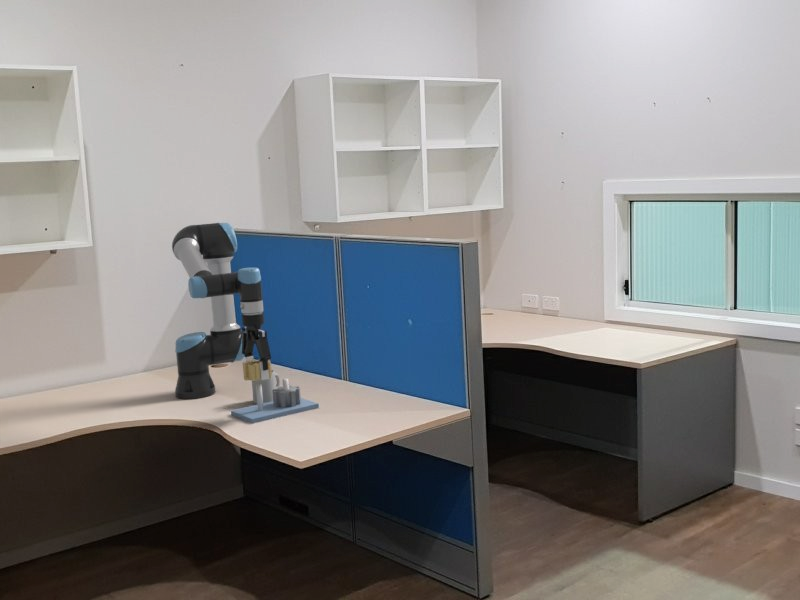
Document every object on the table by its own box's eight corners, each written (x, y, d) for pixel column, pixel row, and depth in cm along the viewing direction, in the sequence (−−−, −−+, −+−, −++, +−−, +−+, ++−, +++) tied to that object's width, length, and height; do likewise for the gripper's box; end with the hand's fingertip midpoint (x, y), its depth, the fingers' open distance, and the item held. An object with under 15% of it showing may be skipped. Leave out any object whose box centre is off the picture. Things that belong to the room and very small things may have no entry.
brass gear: (239, 378, 322) (237, 362, 321) (263, 373, 327) (262, 358, 326) (251, 382, 314) (250, 366, 313) (276, 377, 319) (275, 361, 319)
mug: (264, 405, 335) (262, 375, 333) (248, 402, 340) (246, 373, 338) (288, 397, 344) (286, 368, 342) (272, 395, 349) (269, 366, 348)
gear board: (231, 414, 325) (228, 385, 323) (296, 400, 340) (293, 371, 338) (252, 423, 312) (249, 392, 310) (318, 407, 327) (316, 378, 325)
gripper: (228, 311, 324) (233, 374, 327) (257, 317, 306) (263, 384, 309) (247, 308, 328) (252, 370, 332) (278, 314, 311) (283, 379, 314)
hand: (258, 377), depth 321 cm, fingers closed on brass gear, 10 cm apart
